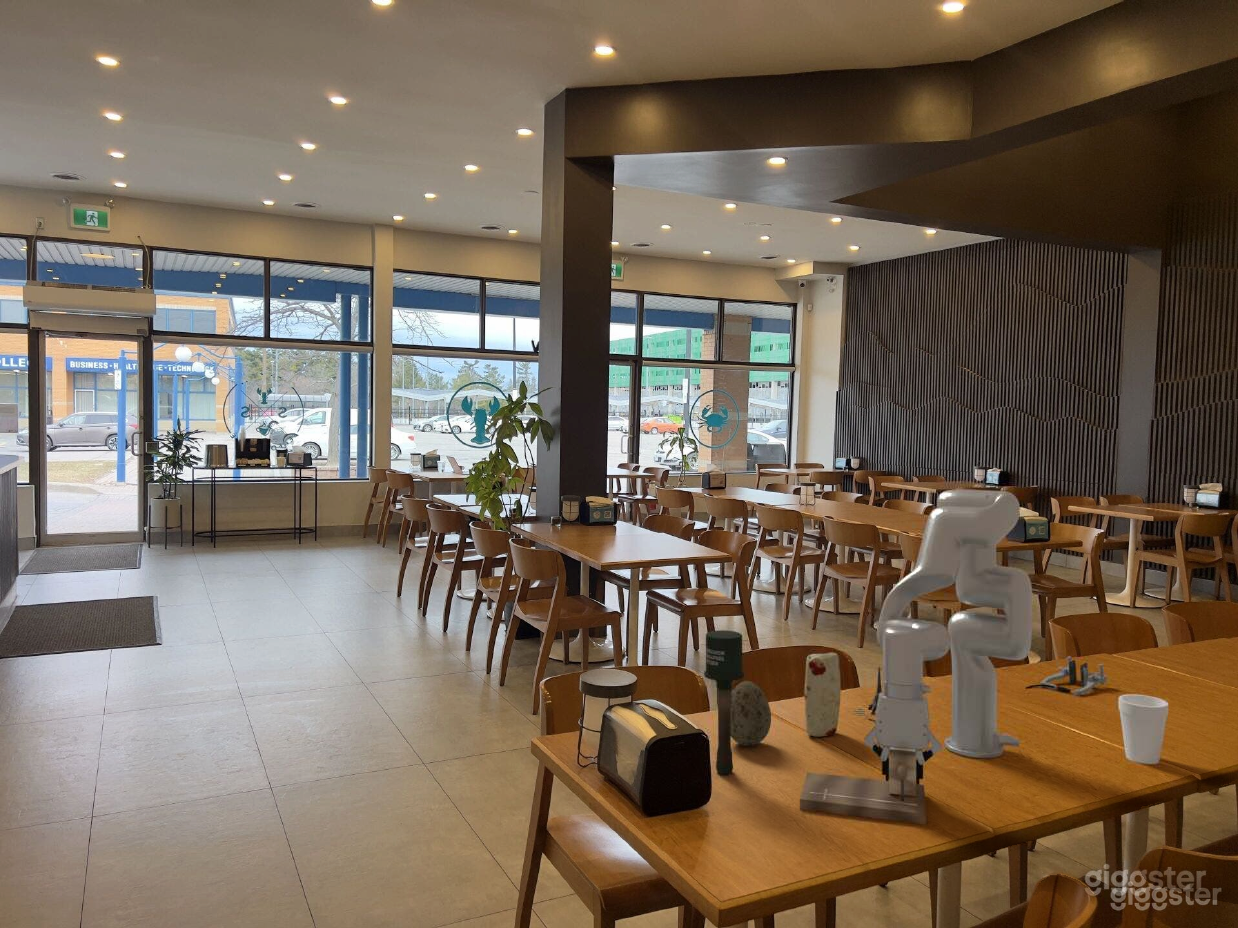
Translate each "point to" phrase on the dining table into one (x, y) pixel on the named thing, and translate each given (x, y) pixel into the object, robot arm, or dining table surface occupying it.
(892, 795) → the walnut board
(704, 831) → the dining table surface
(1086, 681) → the bike brake
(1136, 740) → the foam cup
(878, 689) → the eiffel tower figurine
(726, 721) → the stick grenade
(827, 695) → the food model
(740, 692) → the decorative egg
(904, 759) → the block
